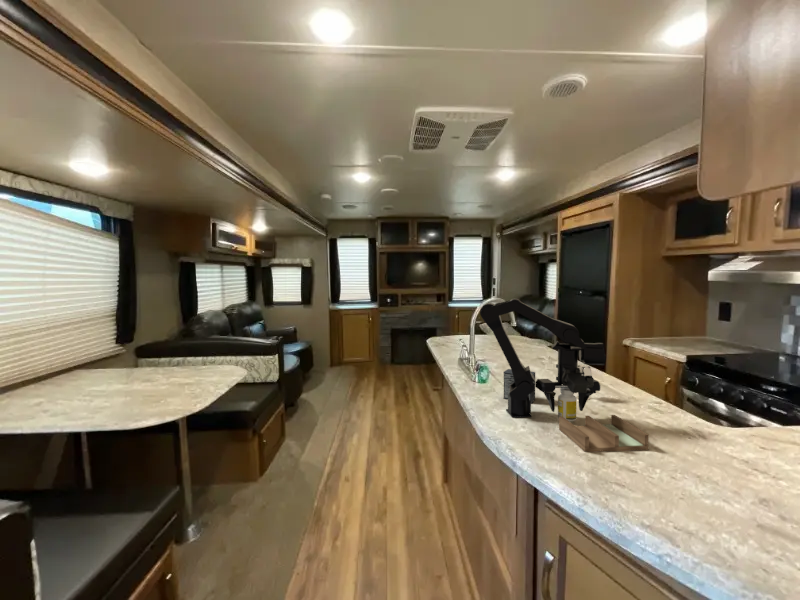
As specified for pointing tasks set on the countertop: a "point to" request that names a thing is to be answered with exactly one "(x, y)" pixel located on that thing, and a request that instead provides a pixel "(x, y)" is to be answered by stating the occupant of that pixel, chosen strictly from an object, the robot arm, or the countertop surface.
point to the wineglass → (585, 371)
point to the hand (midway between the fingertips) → (566, 411)
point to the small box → (509, 380)
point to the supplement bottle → (567, 404)
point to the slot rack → (605, 435)
